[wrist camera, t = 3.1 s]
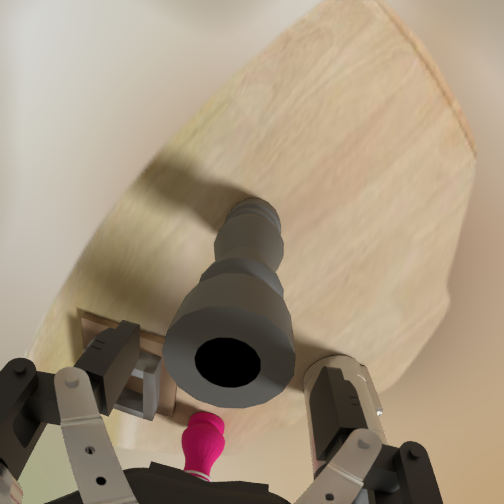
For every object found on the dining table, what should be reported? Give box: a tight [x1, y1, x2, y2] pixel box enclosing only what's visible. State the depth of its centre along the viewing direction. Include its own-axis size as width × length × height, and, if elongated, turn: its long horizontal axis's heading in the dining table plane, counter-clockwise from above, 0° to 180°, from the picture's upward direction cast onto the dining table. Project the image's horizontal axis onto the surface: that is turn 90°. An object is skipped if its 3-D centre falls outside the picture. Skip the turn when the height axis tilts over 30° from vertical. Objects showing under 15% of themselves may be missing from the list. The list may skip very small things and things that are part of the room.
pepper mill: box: [182, 412, 225, 482], centre depth 38 cm, size 7×7×20 cm
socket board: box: [81, 313, 177, 421], centre depth 41 cm, size 16×16×6 cm
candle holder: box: [162, 198, 295, 408], centre depth 24 cm, size 6×6×25 cm
